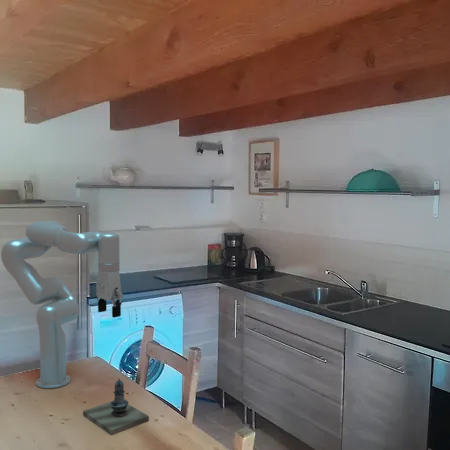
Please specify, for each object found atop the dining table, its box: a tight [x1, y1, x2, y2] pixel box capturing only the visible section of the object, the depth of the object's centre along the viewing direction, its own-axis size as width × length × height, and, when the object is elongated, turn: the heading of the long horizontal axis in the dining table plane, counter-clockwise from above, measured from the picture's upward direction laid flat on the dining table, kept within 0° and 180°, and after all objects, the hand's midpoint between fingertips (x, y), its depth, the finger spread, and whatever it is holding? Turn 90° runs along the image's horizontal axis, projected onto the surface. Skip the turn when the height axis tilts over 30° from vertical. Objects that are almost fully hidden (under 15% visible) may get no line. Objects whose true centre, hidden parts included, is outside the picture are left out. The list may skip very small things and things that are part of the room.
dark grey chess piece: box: [110, 378, 129, 417], centre depth 164 cm, size 6×6×12 cm
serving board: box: [82, 400, 150, 436], centre depth 165 cm, size 18×14×2 cm
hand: (109, 314), depth 180 cm, fingers open, 9 cm apart
